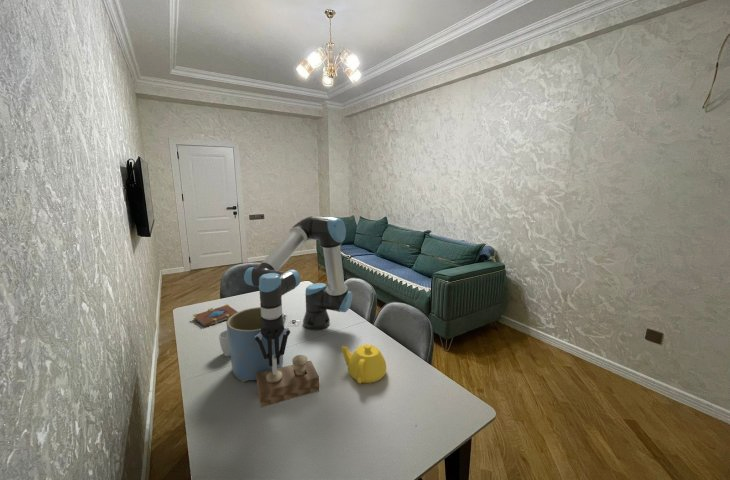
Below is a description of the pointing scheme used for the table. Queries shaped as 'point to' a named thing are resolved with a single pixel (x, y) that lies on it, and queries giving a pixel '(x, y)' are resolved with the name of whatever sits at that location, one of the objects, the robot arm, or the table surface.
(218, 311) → the book
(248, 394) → the table surface
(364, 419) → the table surface
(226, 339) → the cup
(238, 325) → the planter
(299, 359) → the peg
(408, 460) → the table surface
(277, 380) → the peg
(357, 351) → the teapot
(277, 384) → the socket block
